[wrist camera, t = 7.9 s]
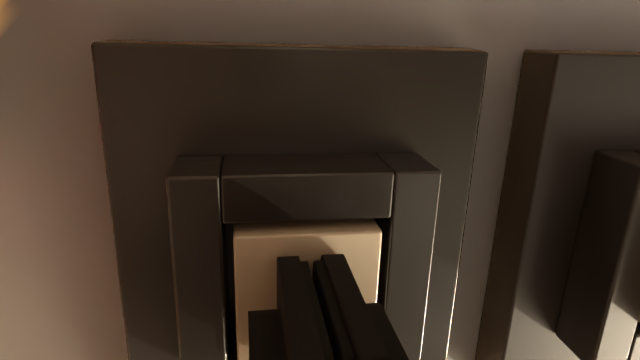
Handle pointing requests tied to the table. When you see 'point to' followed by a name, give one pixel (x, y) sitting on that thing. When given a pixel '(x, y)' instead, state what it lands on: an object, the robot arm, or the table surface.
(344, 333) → the robot arm
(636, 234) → the block
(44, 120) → the table surface
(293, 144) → the block
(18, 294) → the table surface
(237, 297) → the key
